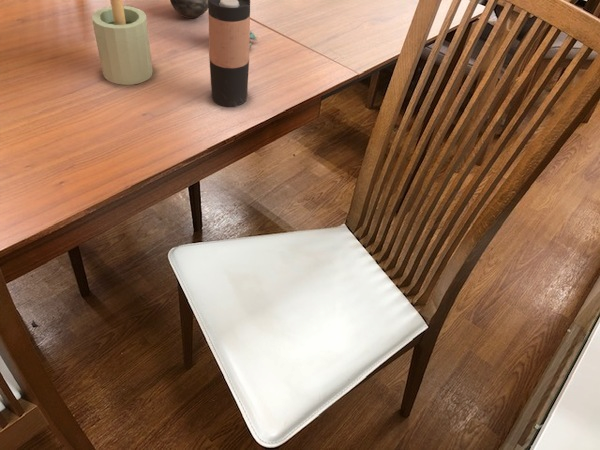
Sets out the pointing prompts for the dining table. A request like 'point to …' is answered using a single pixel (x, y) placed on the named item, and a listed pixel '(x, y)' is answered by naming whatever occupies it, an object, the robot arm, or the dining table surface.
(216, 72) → the travel mug
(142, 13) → the jar
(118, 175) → the dining table surface
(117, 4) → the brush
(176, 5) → the decorative stone
